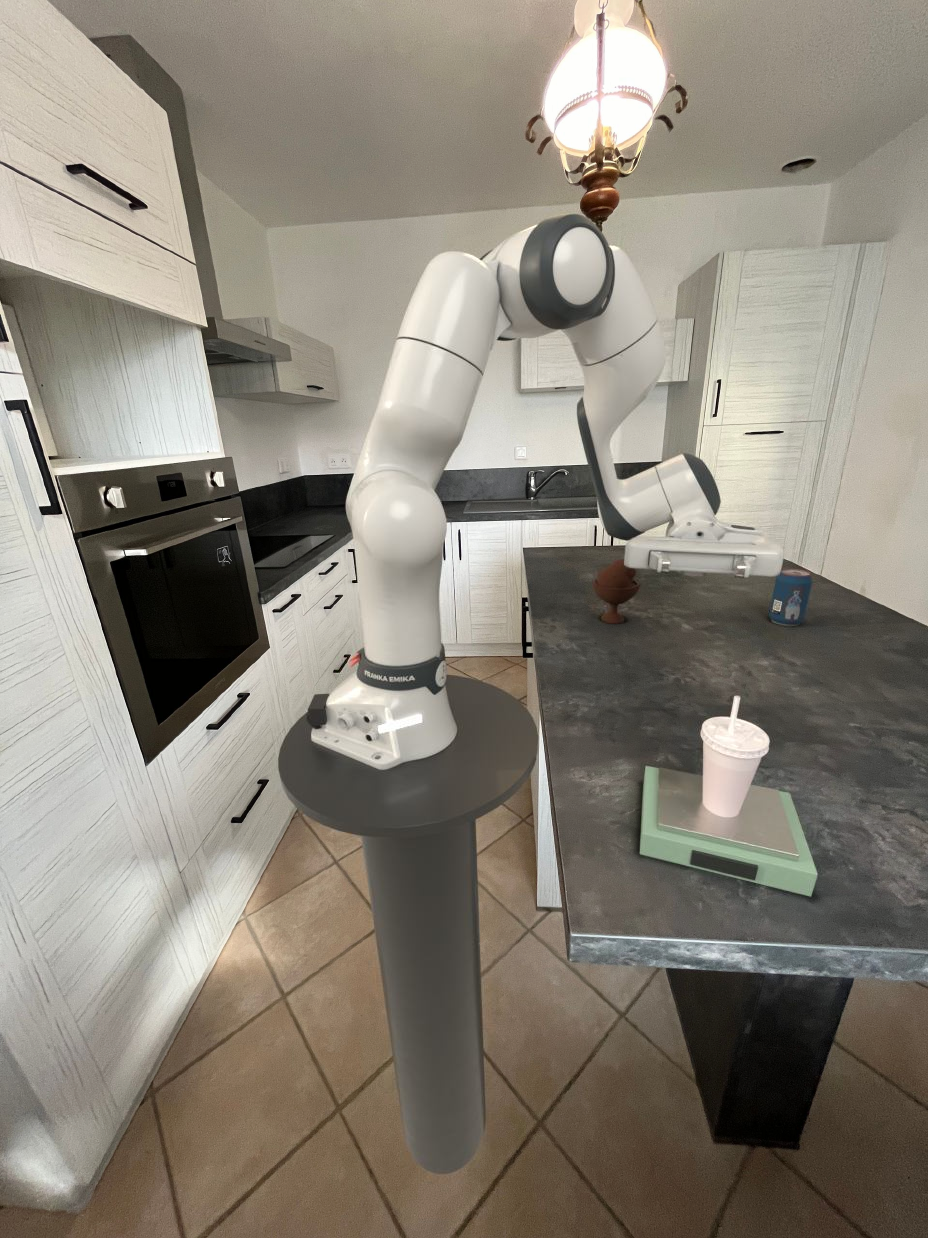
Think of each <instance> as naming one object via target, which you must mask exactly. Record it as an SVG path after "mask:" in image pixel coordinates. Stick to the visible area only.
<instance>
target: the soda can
mask: <svg viewBox="0 0 928 1238" xmlns="http://www.w3.org/2000/svg"><path fill="white" fill-rule="evenodd" d="M811 575H812V573H811V572H810V571H808V570H804V569H799V568H783V569H782V568H781V572H780V574H779V575H778V576H775V582H774V587H773V591H772V596H771V601H770V605H769V611H768V617H769V619H770V621H771V622H772V623H774V624H777V625H780V626H784V627H785V626H786V627H796V626H798V625H800V624H801V623H802V622H803V621H804V620H805V616H806V612H807V607H808V603H809V599H810V594H811V589H812V586H813V585H812V584H813V579H812V576H811Z"/></svg>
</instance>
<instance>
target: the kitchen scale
mask: <svg viewBox="0 0 928 1238" xmlns="http://www.w3.org/2000/svg"><path fill="white" fill-rule="evenodd" d="M644 768H645V769H644V775H643V785H642V803H641V822H640V823H641V824H640V841H639V854H640V855H641V856H645V857H648V858H649V857H650V858H653V859H656V860H662V861H666V862H669V863H674V864H678V865H681V866H685V867H689V868H693V869H697V870H702V871H706V872H710V873H715V874H716V875H717V874H718V875H722V876H726V877H730V878H734V879H737V880H738V879H739V880H742V881H745V882H750V883H754V884H758V885H763V886H765V887H766V886H767V887H771V888H774V889H778V890H782V891H785V892H786V891H787V892H790V893H793V894H797V895H803V896H806V897H809V898H810V897H812V895H813V891H814V889H815V886H816V882H817V879H818V875H819V873H818V871H817V868H816V865H815V862H814V860H813V857H812V856H813V855H812V854H811V850H810V847H809V844H808V842H807V839H806V836H805V834H804V830H803V828H802V825H801V824H802V823H801V822H800V818H799V816H798V813H797V809H796V807H795V803H794V801H793V797H792V796H791V793H790V792H788V791H787V792H786V791H781V790H778V791H779V794H780V797H781V800H782V803H783V806H784V810H785V813H786V816H787V819H788V822H789V825H790V829H791V832H792V835H793V838H794V841H795V844H796V847H797V851H798V854H799V858H798V861H793V860H789V859H784V858H780V857H776V856H771V855H767V854H762V853H758V852H754V851H749V850H745V849H741V848H736V847H732V846H728V845H723V844H719V843H715V842H710V841H706V840H701V839H697V838H693V837H688V836H684V835H680V834H675V833H671V832H667V831H662V830H658V829H657V821H658V769H659V767H654V766H648V765H645V767H644Z"/></svg>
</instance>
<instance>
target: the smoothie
mask: <svg viewBox="0 0 928 1238" xmlns="http://www.w3.org/2000/svg"><path fill="white" fill-rule="evenodd" d="M740 701H741V696H740V695H734V697H733V700H732V707H731V710H730V711H731V712H730V716H714V717H710V718H707V719H706V720H705V721H703V722H702V725H701V729H700V737H701V740H702V741H703V742H702V745H703V746H702V776H703V805H704V806H705V808H706V809H707V810H709V811H710V812H711V813H713V814H715V815H718V816H721V817H726V818H731V817H735V816H737V815H738V814H739V811H740V809H741V807H742V804H743V802H744V799H745V797H746V794H747V792H748V790H749V787H750V785H752V782H753V780H754V777H755V775H756V772H757V770H758V768H759V765H760V764H761V761H762V758H763V757H765V755H767V754H768V752H769V750H770V741H771V740H770V737H769V735H768V734H767V733H766V732H765V730H763V729H762V728H761V727H759V726H758V725H756V724H754V723H753V722H750V721H747V720H744V719H741V718H738V712H739V707H740V703H741V702H740Z"/></svg>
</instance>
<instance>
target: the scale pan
mask: <svg viewBox="0 0 928 1238" xmlns="http://www.w3.org/2000/svg"><path fill="white" fill-rule="evenodd" d="M658 768H659V769H658V821H657V829H658V830H662V831H667V832H671V833H675V834H680V835H684V836H688V837H693V838H697V839H701V840H706V841H710V842H715V843H719V844H723V845H728V846H732V847H736V848H741V849H745V850H749V851H754V852H758V853H762V854H767V855H771V856H776V857H780V858H784V859H789V860H793V861H798V858H799V854H798V851H797V847H796V844H795V841H794V838H793V835H792V832H791V829H790V825H789V822H788V819H787V816H786V813H785V810H784V806H783V803H782V800H781V797H780V794H779V791H780V790H779V789H776V788H772V787H771V788H770V787H765V786H761V785H760V786H759V785H754V784H751V785H750V787H749V790H748V792H747V794H746V797H745V799H744V802H743V804H742V807H741V809H740V811H739V814H738V815H737V816H735V817H731V818H726V817H721V816H718V815H715V814H713V813H711V812H710V811H709V810H707V809H706V808H705V806H704V805H703V774H702V775H701V774H697V773H691V772H686V771H681V770H676V769H671V768H666V767H665V768H664V767H659V766H658Z"/></svg>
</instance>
